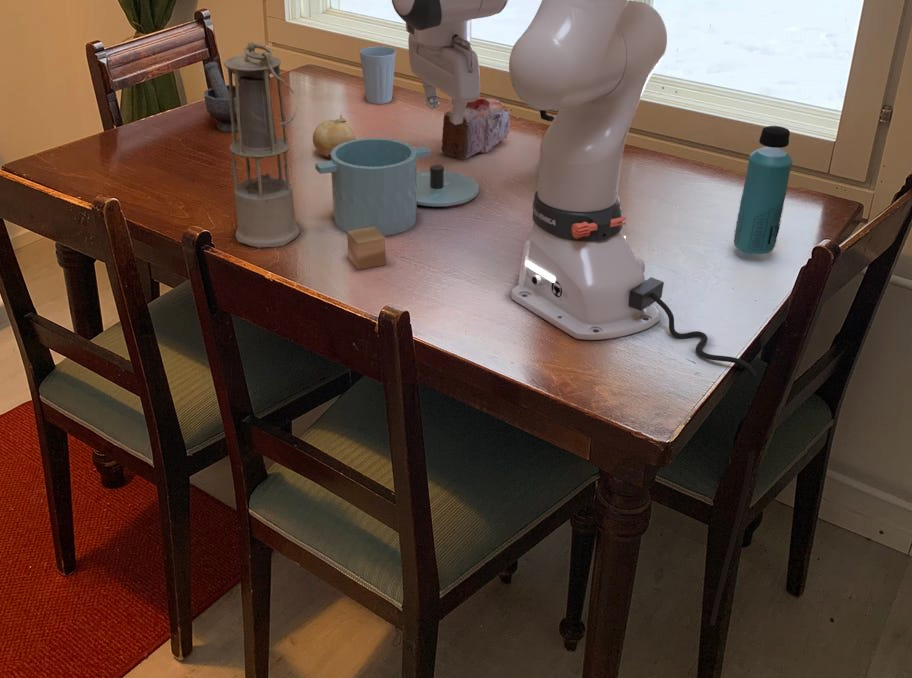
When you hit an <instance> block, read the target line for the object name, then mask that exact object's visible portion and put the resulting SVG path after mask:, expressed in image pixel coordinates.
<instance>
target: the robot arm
mask: <svg viewBox="0 0 912 678" xmlns="http://www.w3.org/2000/svg"><path fill="white" fill-rule="evenodd" d="M508 2H509V0H391V4H392V7H393V9H394V11H395V12H396V14H397V16H399V17H400V19H401V20H402V21H404V23H405V30H406V32H407V33H408V40H407V42H408V44H407V45H408V59H409V66H410V70H411V72H412V74H413V75H414V76H416V77H417V78H419V79H420V80H422V87H423V88H422V89H423V91H424V92H423V93H424V95H425V105H426V107H428V108H429V109H431V110H433V109H438V108H439V106H440V97H439V96H438V91H440V92H441V93H443V94H444V95H446V96H447V97H449V98H451V104H452V109H451V110H452V112H450V121H451V122H452V123H453V124H455V125H457V124H462V123H463V113H464V110H465V108H466V105H467V102H473V101H477V100H478V98H479V99H480V95H481V75H480V73H481V72H480V64H479V58H478V55H477V53H476V51H475V50H473V49H472V44H471V40H472V20H477V19H482V18H489V17H492V16H495V15H498V14H500V13H502V11H503V10H504V9H505V7H507V5H508ZM667 46H668V33H667V27H666V24H665V21H664V19H663V18H662V16H661V14H660V13H659V12H658V11H657V10H656V8H654V7H653V6H652V5H650V4H648V3H647V2H646V3H645V2H643V1H637V0H541V2H540V4H539V7H538V9H537V11H536V12H535V14H534V17H533V19H532V20H531V22H530V24H529V25H528V27H526V29H525V31H524V32H523V33H522V34H521V35H520V36H519V38H518V39H517V40H516V42H515V43H514V44H513V46H512V49H511V51H510V55H509V61H508V72H509V79H510V82H511V84H512V87H513V89H514V91H515V93H516V95H517V96H518V97H519V99H520V100H521V101H522V102H523V103H524V104H525V105H526V106H528V107H530V108H532V109H534V110H538V111H540V110H546V111H557V110H559V111H558V113H556V115H555V116H554V119H553V121H552V122H551V123H550V125H549V126H548V127H547V129H546V131H545V132H544V135H543V136H542V139H541V142H540V151H539V164H538V166H539V167H538V180H537V181H538V182H537V190H536V191H535V192H534V196H533V201H532V221H533V222H534V223H533V225H532V228H531V231H530V233H529V235H528V236H527V239H526V240H525V242H524V244H523V245H524V246H523V250H522V257H521V263H520V269H519V276H518V282H517V284H516V285H515V286H514V287H513V288H512V289H511V293H510V299H511V300H512V301H514V302H515V303H517V304H519V305H521V306H522V307H524V308H526V309H527V310H529V311H530V312H531V313H533V314H535V315H537V316H539V317H540V318H542V319H543V320H545V321H547V322H548V323H550V324H551V325H553V326H554V327H556V328H558V329H559V330H561V331H562V332H564V333H566V334H567V335H569V336H570V337H572V338H573V339H576V340H583V341H584V340H585V341H598V340H609V339H614V338H620V337H621V338H622V337H624V336H625V337H626V336H629V335H632V334H636V333H640V332H643V331H645V330H647V329H649V328H651V327H653V326H655V325H656V324H657V323H658V322H659V321H660V320H661V313H660V311H659V310H658V308H657V307H656V306H655V305H654V303H656V304H657V305H659V307H660V308H661V309H663V311H664V312H665V314H666V315H667V318H668V330H669V333H670V334H671V335H672V336H673V337H674V338H676V339H679V340H680V339H681V340H682V339H689V338H695V337H699V338H701V340H700V341H699V342H697V344H696V346H695V352H696V354H697V355H698V356H699V357H701V358H703V359H706V360H711V361H716V362H726V363H732V364H736V365H739V366H741V367H743V368H744V369H745V370H746V371H747V372H748V373H749V375H750V376H752V377H756V378H757V377H758V373H757V372H756V370H755V369H754V368H753V366H752V365H750V364H749V363H748V362H747V361H745V360H744V359H741V358H738V357H733V356H728V355H719V354H717V355H716V354H711V353H707V352H705V351H704V350H702V348H703V347H704V346H705V344H707V342H708V336H707V334H706V333H704V332H703V331H700V330H699V331H698V330H697V331H689V332H683V333H680V332H677V330H676V329H675V317H674V314H673V312H672V310H671V309H670V307H669V306H668V305H667V304H666V302H664V301H663V300H662V295H663V290H664V285H665V281H662V280H660V279H657V278H655V277H648V278H647V279H646V277H645V274H644V273H645V270H646V266H645V261H644V259H642V258H636V256H635V254H634V252H633V251H632V249H631V246H630V245H629V242H628V240H627V239H626V235H624V233H623V231H622V229H623V226H624V225H627V223H626V222H623V221H624V220H627V216H622V206H621V201H620V197H619V195H618V193H619V185H620V178H621V171H622V164H623V158H624V157H623V155H624V150H625V146H626V141H627V138H628V134H629V131H630V128H631V125H632V122H633V120H634V117H635V114H636V111H637V110H638V106H639V103H640V101H641V99H642V95H643V93H644V91H645V89H646V86H647V83H648V82H649V80H650V79H651V76H652V74H653V73H654V72H655V70H656V69H657V67H658V66H659V64H660V63H661V62H662V61H663V58H664V55H665V53H666V51H667ZM437 90H438V91H437ZM755 454H756V449H754V450H750V451H749V452H748V458H747V464H746V469H745V475H744V479H743V485H742V490H741V493H740V494H741V495H740V499H739V503H738V508H737V512H736V515H735V519H734V524H733V528H732V532H731V535H730V539H729V542H728V547H727V551H726V554H725V558H724V562H723V565H722V566H723V567H722V570H721V574H720V579H719V582H718V587H717V590H716V595H715V599H714V604H713V607H712V612H711V617H710V622H709V625H710V626H713V627H714V626H715V625H716V621H717V616H718V612H719V608H720V604H721V603H720V602H721V599H722V596H723V595H722V594H723V590H724V586H725V583H726V579H727V574H728V570H729V567H730V563H731V559H732V556H733V552H734V548H735V544H736V541H737V536H738V532H739V529H740V524H741V521H742V517H743V513H744V509H745V505H746V500H747V495H748V491H749V486H750V482H751V476H752V471H753V466H754V461H755Z"/></svg>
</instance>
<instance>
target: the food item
mask: <svg viewBox="0 0 912 678" xmlns="http://www.w3.org/2000/svg"><path fill="white" fill-rule="evenodd" d="M450 112H452V109H451V110H448V111H446V112H444V113H443V122H442V123H443V125H442V134H441V148H440V149H441V153H442V154H444V155H446V156H450V157H452V158H453V157H454V158H458V159H459V160H461V161H464V160H466V159H467V158H470V157H472V156H474V155H476V154H478V153H481V154H486V153H489V151H491V150H492V148H494V147H496V146H497V145H498V144H502V143H503V141H504V140H505V139H507V138H508V137H509V134H510V127H511V125H510V124H511V122H510V117H511V113H510V111H509V110H508V109H507V108H506V106H505V104H503V102H502V101H500V100H498V99H495V98H493V97H482V98H480V97H479V98H478V100H477V101H473V102H467V105H466V108H465V110H464V113H463V123H462V124H457V125H455V124H453V123H452V122H451V121H450Z"/></svg>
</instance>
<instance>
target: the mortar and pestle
mask: <svg viewBox="0 0 912 678" xmlns="http://www.w3.org/2000/svg"><path fill="white" fill-rule="evenodd" d="M218 66H219V65H218V62H217V61H209V62H207V63H206V64H205V65H203V69H204V70H205V71H206V72H207V75H208V78H209V81H210V84H211V88H208V89H205V90H204V95H203V96H204V97H203V98H204V104H205V107H206V110H207V112H208V114H209V115H210V116H211V118H213V119H214V120H216V128H217V130H220V131H222V132H232V123H231V111H230V92H229V84H226V82H225V81H224V79H223V76H222V73H221V72H220V70H219V67H218ZM238 86H239V84H238ZM233 98H234V114H235V128H236V132H238V125H237V107H236V87H235V84H233ZM239 104H240V97H239ZM240 119H241V109H240ZM241 131H242V124H241Z"/></svg>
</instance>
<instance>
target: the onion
mask: <svg viewBox="0 0 912 678" xmlns="http://www.w3.org/2000/svg"><path fill="white" fill-rule="evenodd" d="M351 140H356V133H355V131H354V129H353V128H352V127H351V126H350V125H349V124H348V123H347V119H346V118H345V117H343V114H341V115H339V118H338V119H328V120H324V121H322V122H321V123H319V124H318V125H317V127H316V128H315V129H314V131H313V133H312V144H313V147H314V148H315V150H316V151H317V152H318V153H319V154H320V155H321V156H323V157H325V158H328V159H331V156H330V154H331V152H332V150H333V148H334V147H336V146H338V145H339V144H341V143H344V142H347V141H351Z"/></svg>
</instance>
